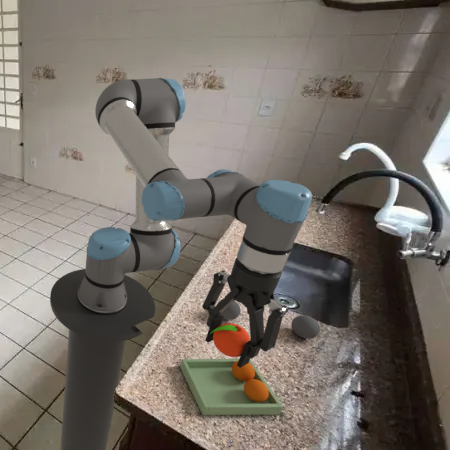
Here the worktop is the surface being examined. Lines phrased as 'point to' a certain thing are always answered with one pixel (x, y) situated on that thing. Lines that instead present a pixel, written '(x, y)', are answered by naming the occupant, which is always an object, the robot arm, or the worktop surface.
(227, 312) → the grey ball
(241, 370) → the orange ball
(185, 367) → the tray
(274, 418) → the worktop surface
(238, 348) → the clementine
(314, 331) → the grey ball
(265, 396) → the orange ball
